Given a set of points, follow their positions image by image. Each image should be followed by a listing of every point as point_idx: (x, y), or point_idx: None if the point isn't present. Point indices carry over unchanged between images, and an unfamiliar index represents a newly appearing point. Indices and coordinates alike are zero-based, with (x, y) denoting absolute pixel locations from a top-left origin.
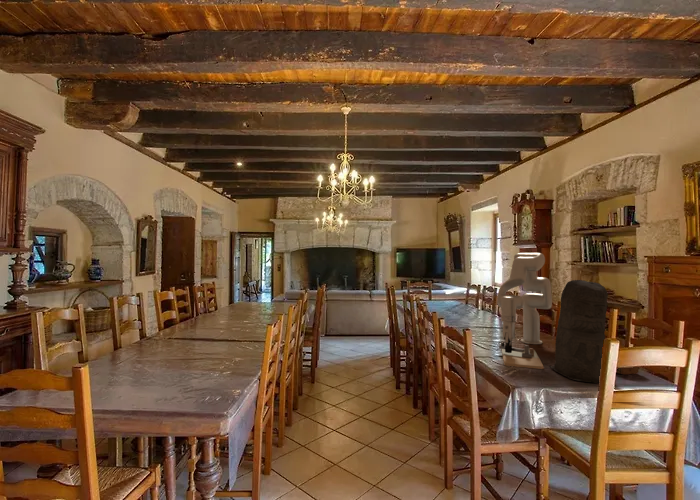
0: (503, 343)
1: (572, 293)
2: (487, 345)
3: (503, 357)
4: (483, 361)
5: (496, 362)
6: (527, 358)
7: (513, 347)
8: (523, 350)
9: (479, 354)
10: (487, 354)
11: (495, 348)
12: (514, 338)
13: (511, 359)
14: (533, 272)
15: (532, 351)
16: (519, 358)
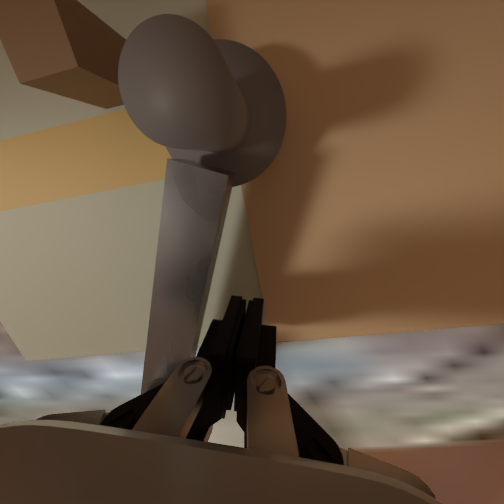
0: None
1: None
2: (8, 422)
3: (356, 334)
4: (454, 425)
5: (459, 358)
6: (293, 111)
7: (158, 307)
8: (210, 169)
9: None
10: None
11: (43, 382)
12: (100, 448)
13: (408, 269)
14: None
15: (91, 30)
16: (334, 200)
